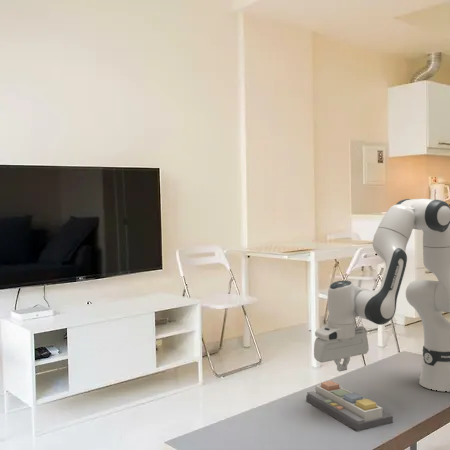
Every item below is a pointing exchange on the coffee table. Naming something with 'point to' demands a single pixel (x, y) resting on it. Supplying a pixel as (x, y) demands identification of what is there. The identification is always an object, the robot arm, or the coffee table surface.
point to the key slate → (352, 397)
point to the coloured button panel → (347, 410)
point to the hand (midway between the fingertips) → (342, 370)
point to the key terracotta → (329, 385)
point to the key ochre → (366, 404)
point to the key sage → (340, 393)
